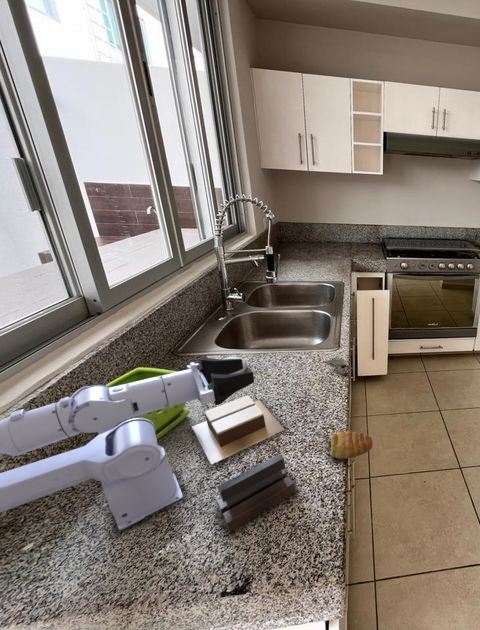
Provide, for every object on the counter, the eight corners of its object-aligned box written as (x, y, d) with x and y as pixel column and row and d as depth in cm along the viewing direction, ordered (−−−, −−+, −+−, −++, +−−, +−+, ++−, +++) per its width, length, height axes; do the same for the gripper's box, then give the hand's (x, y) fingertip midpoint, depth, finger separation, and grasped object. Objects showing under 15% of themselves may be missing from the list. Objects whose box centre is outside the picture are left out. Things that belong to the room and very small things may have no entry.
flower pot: (153, 407, 89) (139, 365, 85) (199, 415, 87) (188, 372, 82) (96, 445, 77) (77, 398, 72) (149, 455, 74) (133, 407, 70)
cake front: (220, 447, 76) (217, 433, 75) (214, 436, 79) (210, 422, 78) (265, 426, 83) (263, 413, 81) (258, 417, 86) (256, 404, 84)
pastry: (371, 436, 82) (371, 423, 80) (373, 457, 76) (373, 444, 74) (331, 440, 80) (330, 427, 79) (329, 462, 74) (328, 449, 72)
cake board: (211, 466, 72) (211, 464, 72) (191, 428, 83) (191, 426, 82) (285, 431, 83) (285, 429, 82) (259, 401, 93) (259, 399, 93)
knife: (228, 522, 61) (220, 491, 58) (225, 516, 62) (217, 486, 59) (288, 487, 68) (283, 458, 65) (285, 482, 69) (280, 453, 66)
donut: (254, 371, 107) (237, 360, 113) (252, 361, 106) (235, 351, 111) (221, 385, 100) (205, 373, 105) (219, 375, 98) (202, 363, 104)
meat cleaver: (343, 358, 116) (328, 360, 115) (343, 355, 116) (328, 357, 114) (349, 375, 106) (332, 378, 104) (348, 371, 105) (332, 374, 104)
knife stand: (229, 533, 59) (227, 523, 58) (218, 510, 63) (216, 500, 62) (296, 492, 67) (294, 483, 66) (282, 474, 71) (281, 465, 70)
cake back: (213, 434, 80) (209, 421, 78) (207, 425, 83) (204, 411, 81) (257, 416, 86) (254, 403, 85) (250, 407, 90) (248, 394, 88)
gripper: (165, 386, 54) (256, 364, 63) (156, 357, 65) (235, 341, 73) (173, 425, 56) (260, 398, 65) (163, 390, 67) (239, 371, 75)
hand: (247, 370), depth 69 cm, fingers open, 7 cm apart
